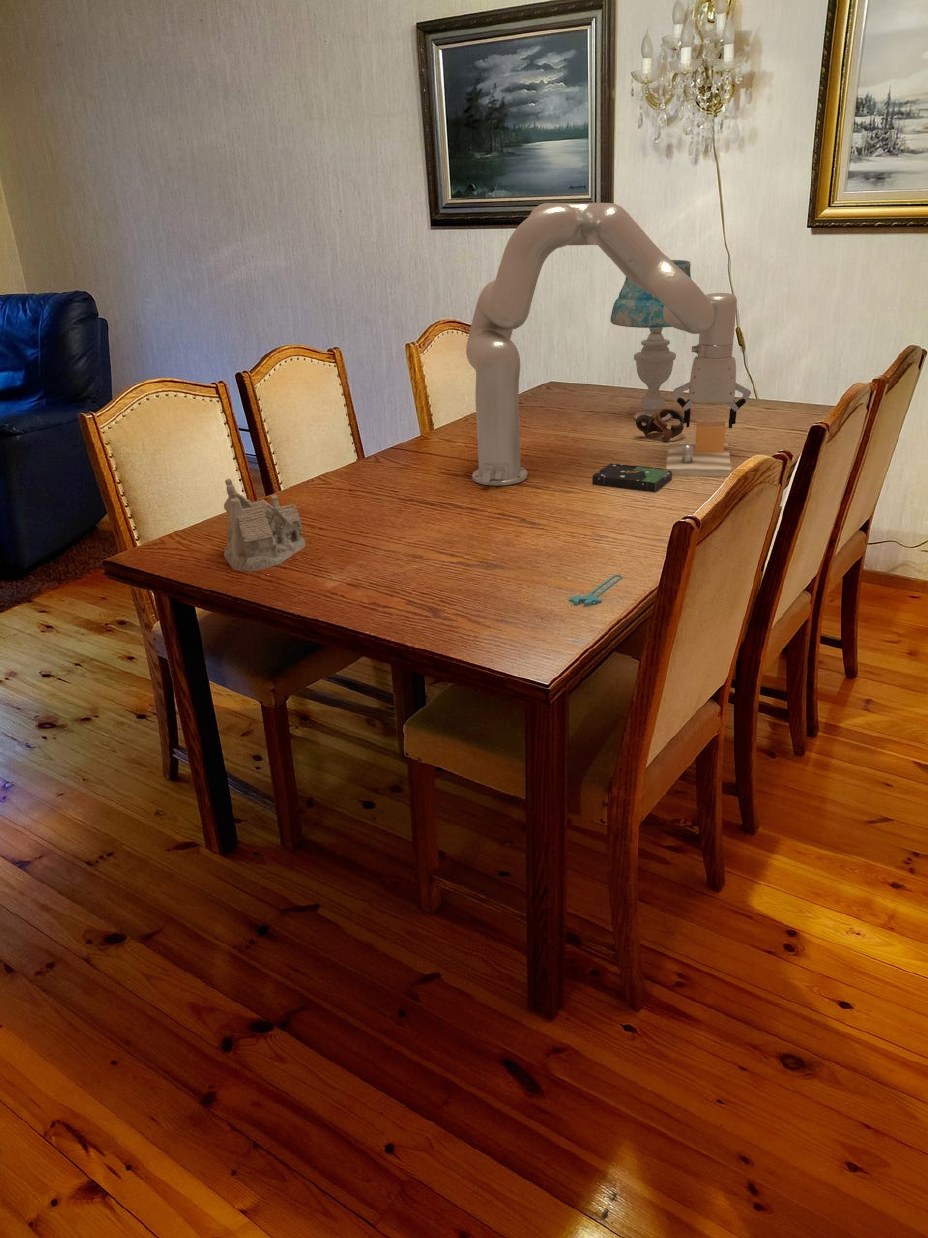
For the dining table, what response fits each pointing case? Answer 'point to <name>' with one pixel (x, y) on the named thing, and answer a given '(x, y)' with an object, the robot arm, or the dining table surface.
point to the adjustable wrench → (590, 597)
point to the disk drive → (632, 477)
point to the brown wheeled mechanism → (661, 424)
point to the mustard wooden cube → (710, 437)
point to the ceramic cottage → (260, 532)
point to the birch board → (698, 462)
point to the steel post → (687, 453)
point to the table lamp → (648, 339)
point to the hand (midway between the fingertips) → (708, 426)
